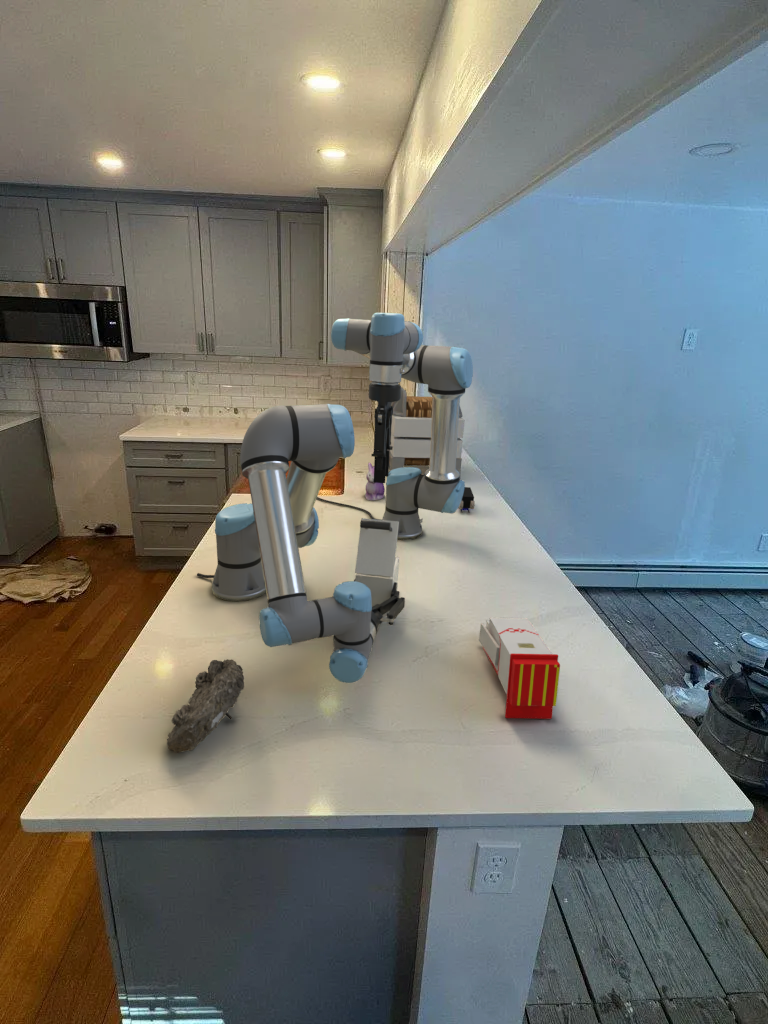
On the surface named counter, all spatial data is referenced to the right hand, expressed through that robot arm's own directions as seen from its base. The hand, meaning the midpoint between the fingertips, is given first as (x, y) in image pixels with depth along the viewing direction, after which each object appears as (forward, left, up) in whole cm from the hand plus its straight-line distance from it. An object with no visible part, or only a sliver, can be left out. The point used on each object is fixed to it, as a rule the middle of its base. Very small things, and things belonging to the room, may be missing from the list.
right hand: (381, 478), depth 139 cm
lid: (+1, -1, -18) cm, 18 cm away
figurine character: (-39, +79, -35) cm, 95 cm away
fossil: (+15, -53, -35) cm, 65 cm away
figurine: (-70, +58, -35) cm, 97 cm away
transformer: (-87, +100, -35) cm, 137 cm away
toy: (+42, +4, -35) cm, 55 cm away
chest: (-1, +1, -35) cm, 35 cm away
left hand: (+1, -1, -28) cm, 28 cm away
